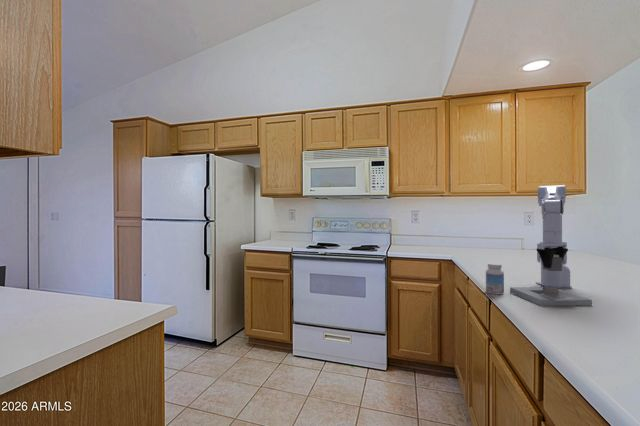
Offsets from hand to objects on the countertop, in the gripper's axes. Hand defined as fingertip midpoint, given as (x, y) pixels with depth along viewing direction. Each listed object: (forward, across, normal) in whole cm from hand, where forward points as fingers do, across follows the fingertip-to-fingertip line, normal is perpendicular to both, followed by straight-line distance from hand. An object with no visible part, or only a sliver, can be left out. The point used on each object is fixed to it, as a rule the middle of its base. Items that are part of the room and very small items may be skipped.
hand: (552, 267), depth 110 cm
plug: (+1, 0, 0) cm, 1 cm away
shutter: (+8, +11, +8) cm, 15 cm away
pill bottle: (+11, +17, -10) cm, 23 cm away
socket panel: (+10, +7, +2) cm, 13 cm away
